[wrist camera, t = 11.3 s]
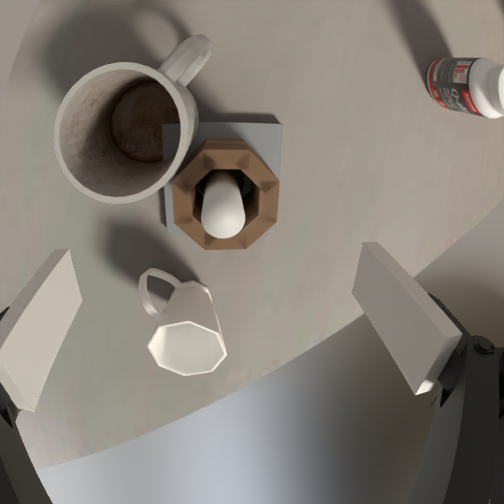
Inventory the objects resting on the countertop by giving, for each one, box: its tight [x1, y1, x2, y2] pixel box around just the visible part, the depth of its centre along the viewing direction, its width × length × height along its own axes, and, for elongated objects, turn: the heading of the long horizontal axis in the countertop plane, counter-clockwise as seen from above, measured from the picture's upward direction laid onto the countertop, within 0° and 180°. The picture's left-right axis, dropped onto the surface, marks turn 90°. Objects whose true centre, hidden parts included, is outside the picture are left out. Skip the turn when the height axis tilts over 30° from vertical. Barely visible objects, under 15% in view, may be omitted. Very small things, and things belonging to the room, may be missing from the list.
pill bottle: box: [427, 58, 504, 118], centre depth 20 cm, size 6×6×10 cm
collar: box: [172, 139, 280, 250], centre depth 24 cm, size 7×7×6 cm
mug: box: [53, 34, 213, 204], centre depth 20 cm, size 12×9×10 cm
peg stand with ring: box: [162, 122, 283, 238], centre depth 23 cm, size 10×10×10 cm
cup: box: [139, 268, 227, 376], centre depth 29 cm, size 7×10×8 cm
